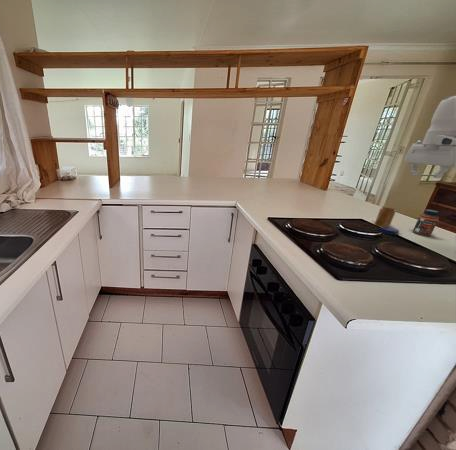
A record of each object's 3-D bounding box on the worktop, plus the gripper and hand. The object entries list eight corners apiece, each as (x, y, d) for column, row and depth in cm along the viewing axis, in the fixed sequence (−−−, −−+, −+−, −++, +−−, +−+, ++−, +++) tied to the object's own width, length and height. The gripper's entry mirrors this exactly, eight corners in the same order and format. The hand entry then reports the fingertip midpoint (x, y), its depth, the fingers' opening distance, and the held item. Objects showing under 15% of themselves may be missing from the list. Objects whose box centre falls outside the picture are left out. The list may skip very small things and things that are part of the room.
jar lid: (386, 234, 107) (387, 230, 106) (376, 230, 112) (378, 226, 112) (401, 236, 106) (403, 232, 105) (390, 231, 112) (392, 227, 111)
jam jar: (383, 223, 122) (389, 205, 119) (392, 227, 117) (400, 209, 113) (371, 223, 122) (378, 205, 119) (380, 227, 117) (387, 208, 114)
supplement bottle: (416, 234, 108) (427, 211, 104) (409, 230, 113) (419, 208, 109) (434, 237, 106) (445, 213, 102) (425, 232, 111) (436, 209, 107)
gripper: (406, 140, 102) (394, 172, 107) (460, 140, 83) (443, 179, 87) (421, 140, 102) (409, 173, 106) (479, 140, 82) (461, 180, 87)
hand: (424, 176), depth 97 cm, fingers open, 8 cm apart
